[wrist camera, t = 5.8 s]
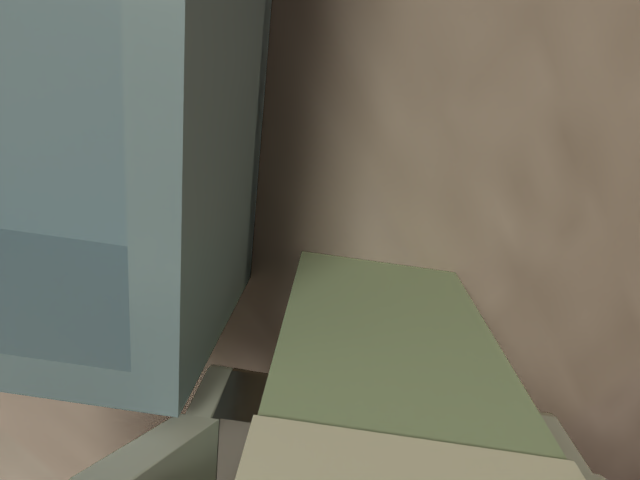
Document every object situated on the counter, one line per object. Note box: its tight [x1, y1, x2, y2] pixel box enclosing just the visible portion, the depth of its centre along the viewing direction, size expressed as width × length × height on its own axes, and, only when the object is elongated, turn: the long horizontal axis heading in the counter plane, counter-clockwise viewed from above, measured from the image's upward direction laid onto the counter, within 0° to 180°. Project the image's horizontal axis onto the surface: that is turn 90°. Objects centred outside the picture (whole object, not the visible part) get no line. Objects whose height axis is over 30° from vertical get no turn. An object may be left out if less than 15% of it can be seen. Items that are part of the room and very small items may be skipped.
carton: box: [235, 251, 586, 480], centre depth 8 cm, size 5×5×10 cm
